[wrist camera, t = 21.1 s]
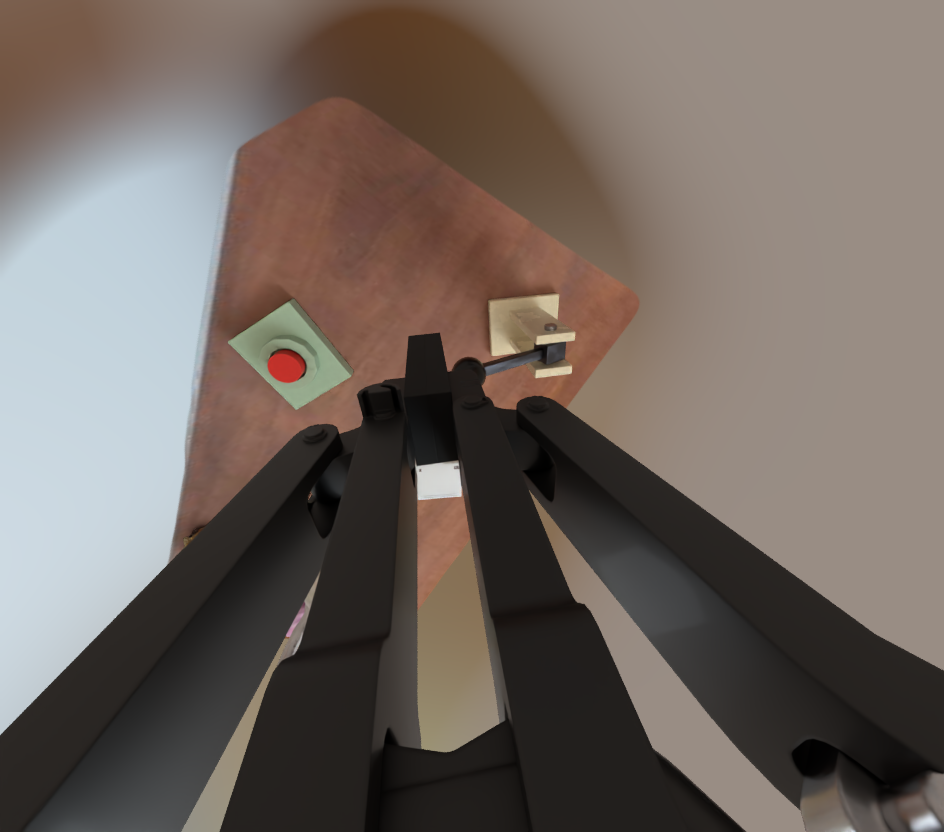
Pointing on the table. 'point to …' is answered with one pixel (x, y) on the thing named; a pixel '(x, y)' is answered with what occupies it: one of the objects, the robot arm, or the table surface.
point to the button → (286, 366)
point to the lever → (513, 360)
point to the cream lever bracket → (528, 329)
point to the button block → (302, 337)
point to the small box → (438, 480)
